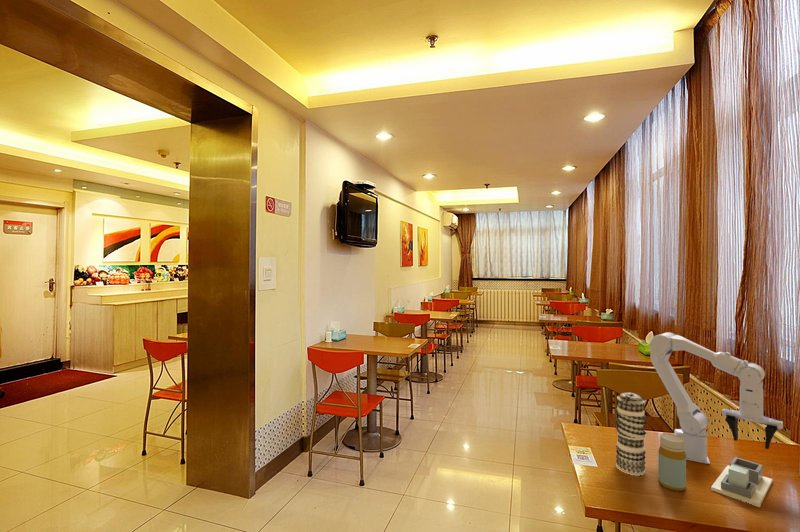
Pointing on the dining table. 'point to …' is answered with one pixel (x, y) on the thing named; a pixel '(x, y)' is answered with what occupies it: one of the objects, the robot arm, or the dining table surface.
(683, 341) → the robot arm
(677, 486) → the bottle
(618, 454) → the decorative candle
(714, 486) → the board with square sockets
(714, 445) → the dining table surface
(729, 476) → the plug
